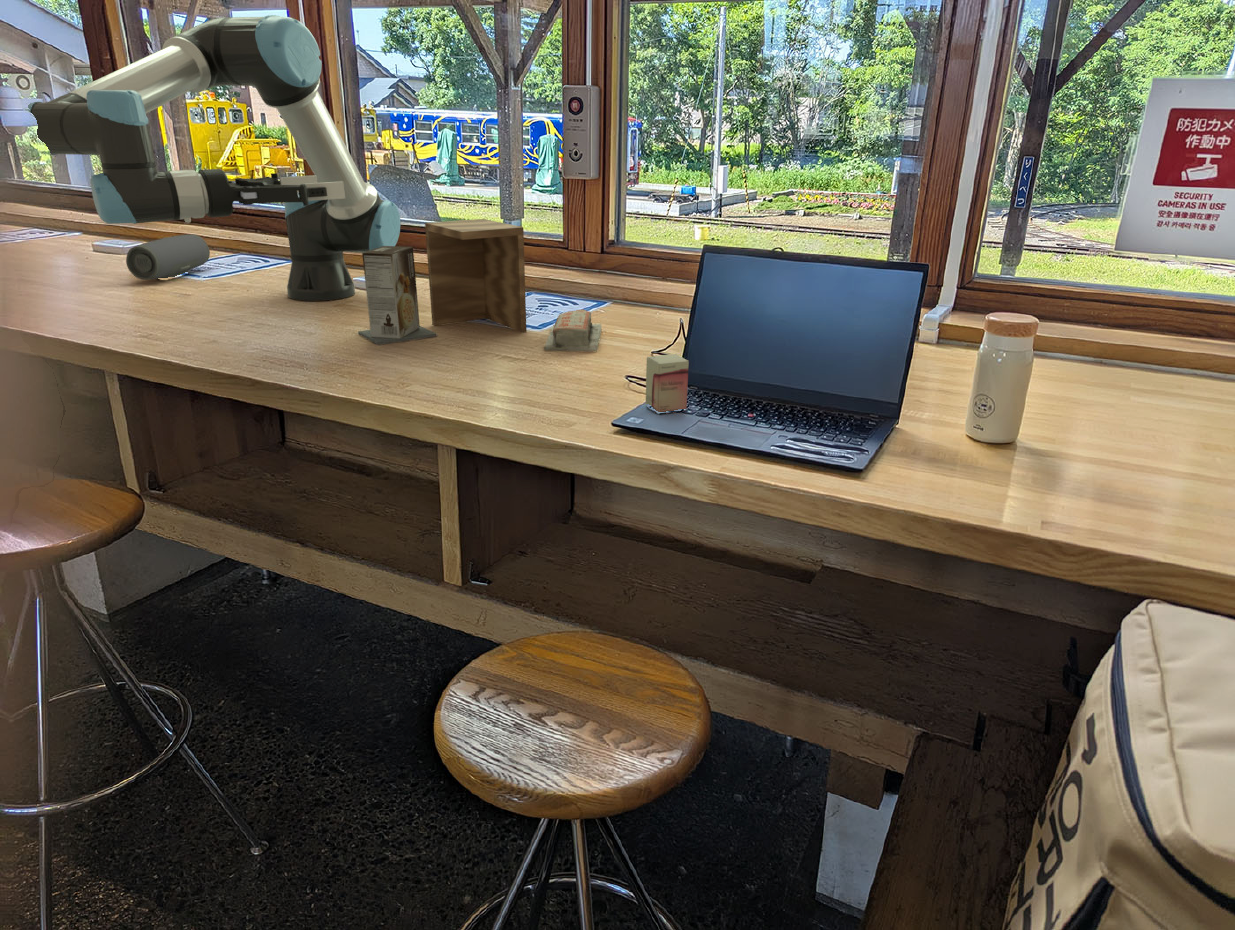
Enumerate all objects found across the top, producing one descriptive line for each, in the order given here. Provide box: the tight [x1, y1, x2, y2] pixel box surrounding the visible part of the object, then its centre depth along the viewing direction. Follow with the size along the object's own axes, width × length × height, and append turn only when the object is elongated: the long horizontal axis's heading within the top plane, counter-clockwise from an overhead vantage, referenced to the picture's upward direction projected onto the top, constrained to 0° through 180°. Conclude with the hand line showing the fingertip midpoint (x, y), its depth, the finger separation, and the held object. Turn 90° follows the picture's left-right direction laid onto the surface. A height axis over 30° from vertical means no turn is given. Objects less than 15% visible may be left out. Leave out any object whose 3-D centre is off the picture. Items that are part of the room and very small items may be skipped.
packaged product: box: [543, 308, 602, 352], centre depth 168 cm, size 18×5×10 cm
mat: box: [357, 325, 438, 346], centre depth 170 cm, size 10×12×1 cm
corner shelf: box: [424, 218, 527, 334], centre depth 172 cm, size 16×13×20 cm
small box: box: [645, 353, 690, 412], centre depth 128 cm, size 5×4×8 cm
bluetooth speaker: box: [125, 233, 211, 281], centre depth 223 cm, size 23×9×10 cm, turn 172°
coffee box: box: [361, 245, 421, 339], centre depth 166 cm, size 9×6×16 cm
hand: (330, 186), depth 153 cm, fingers open, 13 cm apart
